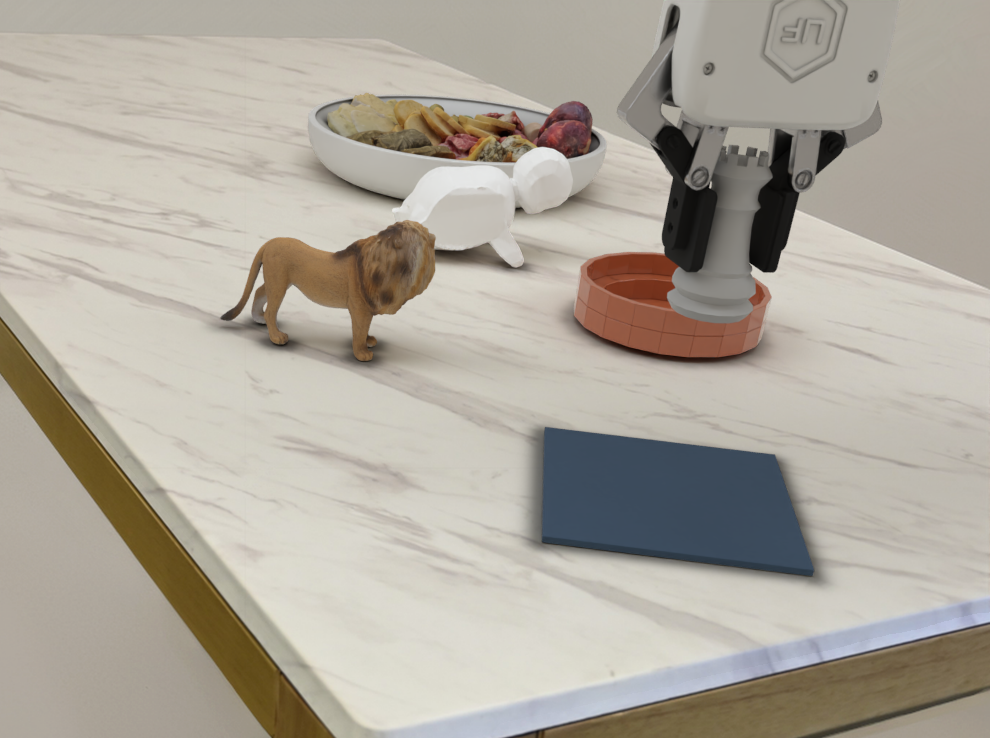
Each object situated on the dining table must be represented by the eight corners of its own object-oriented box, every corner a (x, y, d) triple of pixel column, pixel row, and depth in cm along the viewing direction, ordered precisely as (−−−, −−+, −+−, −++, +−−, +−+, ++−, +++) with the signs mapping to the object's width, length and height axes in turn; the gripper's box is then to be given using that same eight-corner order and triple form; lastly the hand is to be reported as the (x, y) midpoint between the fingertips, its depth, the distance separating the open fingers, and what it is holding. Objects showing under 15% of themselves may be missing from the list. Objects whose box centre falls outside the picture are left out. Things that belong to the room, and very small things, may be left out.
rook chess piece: (658, 292, 67) (689, 136, 63) (741, 300, 68) (778, 144, 63) (672, 321, 64) (706, 157, 59) (760, 329, 64) (800, 166, 59)
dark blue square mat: (773, 460, 77) (775, 454, 77) (812, 576, 65) (814, 569, 65) (544, 432, 78) (545, 426, 78) (541, 542, 66) (542, 536, 66)
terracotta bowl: (746, 307, 101) (757, 263, 99) (771, 372, 89) (784, 323, 88) (572, 288, 102) (579, 243, 100) (573, 349, 90) (582, 300, 88)
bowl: (333, 215, 114) (339, 124, 110) (286, 136, 139) (289, 59, 134) (643, 222, 121) (659, 136, 116) (545, 145, 145) (555, 72, 141)
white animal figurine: (425, 301, 106) (596, 239, 105) (396, 204, 101) (574, 139, 100) (408, 268, 113) (568, 210, 112) (380, 176, 108) (547, 115, 107)
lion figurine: (432, 343, 89) (445, 215, 84) (419, 371, 85) (433, 236, 80) (230, 315, 91) (232, 187, 86) (208, 340, 86) (208, 207, 81)
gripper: (673, -170, 49) (594, 289, 59) (1032, -136, 53) (902, 289, 63) (602, -177, 56) (541, 240, 65) (929, -146, 59) (825, 243, 69)
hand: (719, 260), depth 64 cm, fingers closed on rook chess piece, 3 cm apart
